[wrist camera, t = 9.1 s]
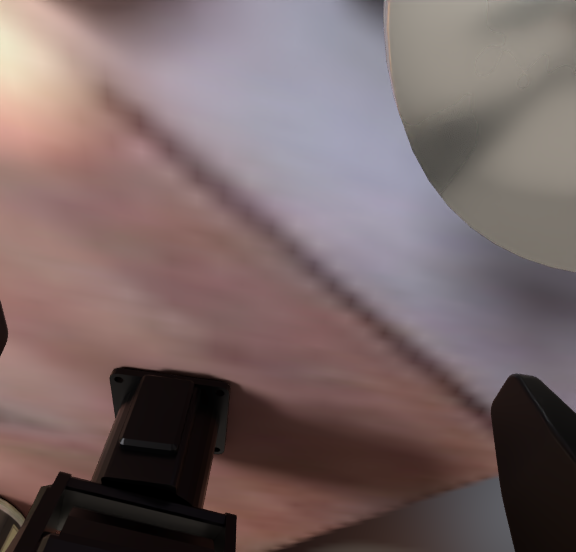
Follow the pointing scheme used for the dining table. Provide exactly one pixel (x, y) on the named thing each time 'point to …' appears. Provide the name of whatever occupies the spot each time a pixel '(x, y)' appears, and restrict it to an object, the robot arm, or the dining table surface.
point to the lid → (493, 114)
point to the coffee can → (8, 523)
